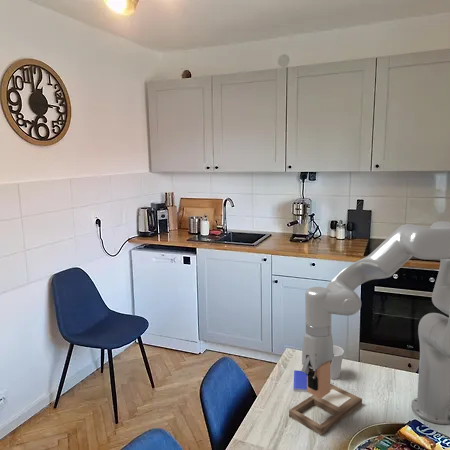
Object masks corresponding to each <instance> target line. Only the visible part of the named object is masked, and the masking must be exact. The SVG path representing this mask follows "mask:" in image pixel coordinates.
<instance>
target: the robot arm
mask: <svg viewBox="0 0 450 450" xmlns="http://www.w3.org/2000/svg"><path fill="white" fill-rule="evenodd" d="M413 257H414V258H417V259H420V260H431V261H432V260H440V263H439V264H440V265H439V270H438V272H437V273H438V274H437V277H436V280H435V284H434V286H433V287H434V288H433V289H432V290H433V291H432V295H431V302H432V304H433V305H434V307H436V308H437V310H440V311H441V312H442V313H443V314H441V313H439V312H429V313H427V314H424V316H422V317H421V318H420V320H419V323H418V326H417V327H418V329H417V335H418V340H419V341H418V342H419V365H418V379H417V380H418V382H417V396H416V397H415V398H413V399H412V401H411V404H410V405H411V410H412V411H413V413H414V414H415V415H416V416H418V417H419V418H421V419H423V420H425V421H427V422H430V423H433V424H438V425H449V424H450V221H446V220H444V221H443V220H440V221H439V220H438V221H435V222H433V223H432V224H431V225H430V227H429V228H427V227H424V226H422V225H417V224H413V223H406V224H402V225H400V226H399V227H397V228H396V229H395V230H394V231H393V232H391V234H389V236H388V237H386V239H384V240H383V242H381V243H380V245H378V246H377V247H376V248H375V249H374V250H373V251H372V252H371V253H370V254H368V255H367V256H365V257H362V258H361V259H359V260H357V261H355V262H353V263H351V264H349V265H347V266H346V267H345V268H343V269H342V270H341V271H340V272H338V274H337V275H336V276H334V277H333V278H332V279H331V281H330V282H328V284H327V286H326V287H322V286H313V287H309V288H308V289H306V291H305V297H304V299H305V334H304V336H303V341H302V348H301V351H302V352H301V365H302V369H301V371H302V372H304V373H305V374H306V375H307V376H308V387H309V388H311V389H313V390H315V391H317V390H318V378H316V376H317V369H318V368H319V367H320V366H322V365H323V364H325V363H327V362H328V361H330V364H331V362H332V359H333V357H334V353H333V345H334V343H333V334H332V315H338V316H353V315H356V314H358V312H359V311H360V310H361V308H362V300H361V297H360V296H359V295H358V294H357V293H356V292H355V290H356V289H357V288H358V287H360V286H361V285H362V284H364V283H366V282H370V281H372V280H381V279H387V278H391V277H392V276H393V275H394V274H395V273H396V272H398V271H399V269H401V267H403V266H404V265H405V263H407V262H408V261H409V260H410V259H412V258H413ZM444 314H446V315H444ZM311 369H313V370H314V371H313V373H312V372H311Z"/></svg>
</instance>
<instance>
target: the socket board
mask: <svg viewBox="0 0 450 450" xmlns="http://www.w3.org/2000/svg"><path fill="white" fill-rule="evenodd" d="M362 405H363V398H361V397H359V396H358V395H357V396H356V395H355V394H352V393H351V392H348V391H347V390H344V389H342V388H340V387H338V386H336V385H334V384H332V383H330V393H328V394H327V395H325V396H324V397H322V398H321V399H320V398H318V397H316V396H314V395H312V394H311V395H310V396H309V397H308V398H306V399H304V400H303V401H301V402H300V403H298V404H297V405H295V406H294V407H292V408H290V409H289V410H288V416H289V417H290V418H292V419H293V420H295V421H297V422H298V423H300V424H301V425H303V426H305V428H308V429H309V430H311V431H313V432H314V433H316V434H318V435H319V436H323V435H324V434H325V433H326V432H328V431H329V430H331V429H332V428H333V427H335V426H336V425H337V424H338V423H340V422H341V421H342V420H343V419H345V418H346V417H348V415H350V414H351V413H353V412H354V411H355V410H356V409H358V408H360V407H361V406H362ZM312 406H316V407H317V408H319V409H321V410H322V411H325V412H327V413H329V414H331V416H330V417H328V418H327V419H326V420H324V421H323V422H322V423H319V422H317V421H315V420H314V419H311V418H310V417H308V416H306V415H304V414H303V413H304V411H306V410H308V409H309V408H311V407H312Z"/></svg>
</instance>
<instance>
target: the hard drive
mask: <svg viewBox="0 0 450 450" xmlns="http://www.w3.org/2000/svg"><path fill="white" fill-rule="evenodd" d="M293 372H294V373H293V392H300V393H308V392H307V375H306V374H305V373H304V372H302V370H294V371H293Z"/></svg>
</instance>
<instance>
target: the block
mask: <svg viewBox="0 0 450 450" xmlns="http://www.w3.org/2000/svg"><path fill="white" fill-rule="evenodd" d="M313 371H314V370H313V369H311V372H312V373H313ZM316 378H318V390H317V391H315V390H313V389H311V388H309V387H308V376H307V392H306V393H308V394H311V396H312V395H314V396H316V397H318V398H320V399H321V398H322V397H324V396H325V395H327V394H328V393H330V384H331V379H330V361H328V362H327V363H325V364H323V365H322V366H320V367H319V368H318V369H317V376H316Z"/></svg>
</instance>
